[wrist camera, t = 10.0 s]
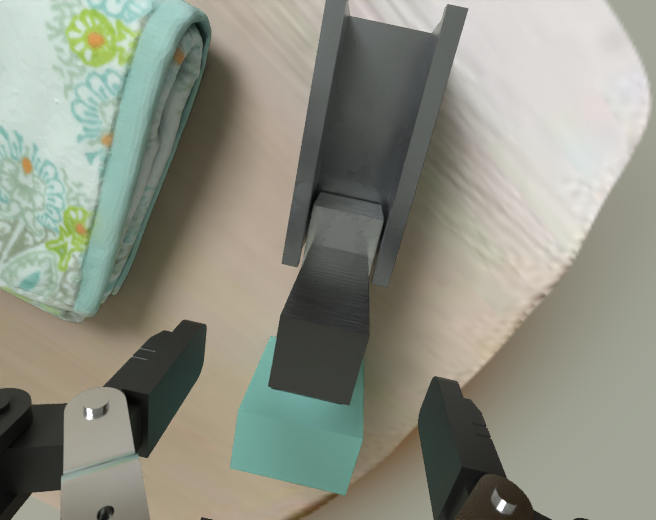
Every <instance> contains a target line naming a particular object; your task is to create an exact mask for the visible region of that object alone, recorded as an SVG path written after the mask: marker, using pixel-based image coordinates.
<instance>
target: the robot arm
mask: <svg viewBox="0 0 656 520" xmlns="http://www.w3.org/2000/svg"><path fill="white" fill-rule="evenodd" d="M206 330H207V328H206V324H202V323H198V322H193V321H189V320H183V321H181V323H180V324H179V325H178V326H177V327H176V328H175V329H174V330H173V332H170V331H165V330H164V331H162V332H160V333H158V334H156V335H154V336H152V337H150V338H149V339H148V340H147V341H146V343H145V344H144V345H143V346H142V347H141V349H139V350H138V351H137V352H136V353H135V354H134V355H133V357H131V358H130V359H129V360H128V361H127V362H126V363H125V364H124V365H123V366H122V368H121V369H120V370H119V371H118V372H117V373H116V374H115V375H114V376H113V377H112V378H111V379H110V380H109V381H108V382H107V383H106V384H105V385H104V386H103V387H98V388H93V389H89V390H86V391H84V392H82V393H80V394H78V395H76V396H75V397H74V398H72V399H71V400H70V401H69V402H68V403H64V404H40V405H32V403H31V397H30V395H29V394H28V393H27V392H26V391H24V390H21V389H16V388H4V389H0V520H11V519H12V517H13V516H14V515H15V514H16V512H17V511H18V510H19V508H20V507H21V506H22V505H23V504H24V502H25V501H26V500H27V499H28V497H29V496H30V495H31V494H32V493H33V492H44V491H54V490H61V517H60V520H150V517H149V511H148V505H147V500H146V494H145V488H144V482H143V477H142V471H141V465H140V460H139V456H140V457H145V458H148V457H149V455H150V453H151V452H152V450H153V449H154V447H155V446H156V444H157V442H158V441H159V439H160V438H161V436H162V434H163V433H164V431H165V430H166V428H167V427H168V425H169V423H170V422H171V420H172V419H173V417H174V415H175V414H176V412H177V411H178V409H179V408H180V406H181V404H182V403H183V401H184V400H185V398H186V396H187V395H188V393H189V392H190V390H191V388H192V387H193V385H194V384H195V382H196V381H197V379H198V377H199V375H200V373H201V370H202V367H203V362H204V353H205V341H206ZM418 429H419V435H420V441H421V447H422V452H423V458H424V464H425V471H426V476H427V482H428V488H429V494H430V500H431V505H432V512H433V517H434V520H551V519H549V518H547V517H546V516H543V515H541V514H540V513H538V512H536V511H535V510H533V507H532V505H531V502H530V501H529V499H528V497H527V496H526V495H525V493H524V492H523V491H522V490H521V489H520V488H519V487H518V486H517V485H516V484H514V483H513V482H511V481H510V480H508V479H507V477H506V475H505V472H504V470H503V467H502V464H501V462H500V459H499V457H498V454H497V452H496V449H495V447H494V444H493V441H492V439H490V437H491V436H490V434H489V431H488V429H487V428H486V423H485V421H484V418H483V416H482V413H481V412H480V410H479V409H478V408H477V407H476V405H475V404H474V403H473V402H472V401H471V400H470V399H466V398H463V395H462V393H461V389H460V386H459V384H458V382H457V381H454V380H450V379H446V378H441V377H437V376H434V377H433V378H432V380H431V383H430V386H429V388H428V391H427V393H426V396H425V399H424V401H423V404H422V407H421V409H420V413H419V419H418ZM201 520H212V519H207V518H203V517H202V518H201ZM574 520H588V519H584V518H576V519H574Z"/></svg>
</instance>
